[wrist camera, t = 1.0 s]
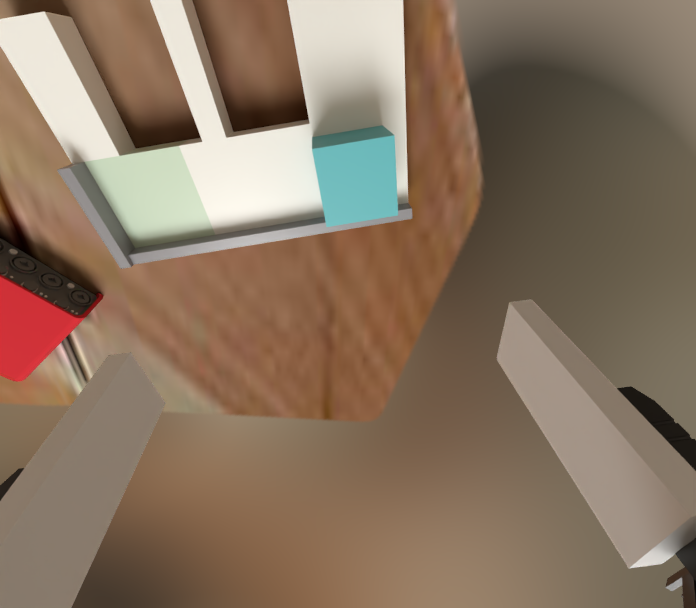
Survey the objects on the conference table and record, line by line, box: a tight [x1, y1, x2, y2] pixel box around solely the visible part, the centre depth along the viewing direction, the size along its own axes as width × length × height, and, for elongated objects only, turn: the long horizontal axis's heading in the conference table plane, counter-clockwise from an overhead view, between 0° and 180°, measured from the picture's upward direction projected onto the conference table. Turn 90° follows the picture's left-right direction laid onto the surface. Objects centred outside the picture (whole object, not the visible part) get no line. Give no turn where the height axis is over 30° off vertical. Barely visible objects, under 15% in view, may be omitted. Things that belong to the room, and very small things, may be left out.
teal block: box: [312, 125, 398, 227], centre depth 27 cm, size 6×6×5 cm
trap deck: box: [0, 0, 412, 269], centre depth 27 cm, size 18×28×5 cm, turn 98°
